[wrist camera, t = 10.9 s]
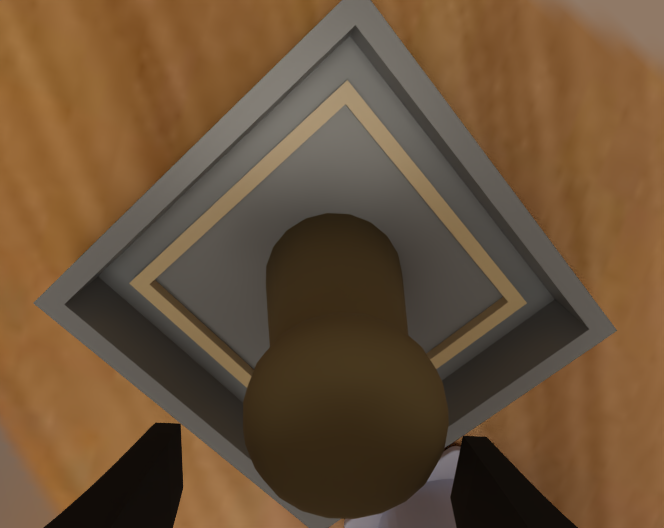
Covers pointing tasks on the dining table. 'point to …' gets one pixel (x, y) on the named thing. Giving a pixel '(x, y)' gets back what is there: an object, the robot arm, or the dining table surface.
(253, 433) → the cork
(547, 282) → the walled box
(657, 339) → the dining table surface
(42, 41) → the dining table surface
